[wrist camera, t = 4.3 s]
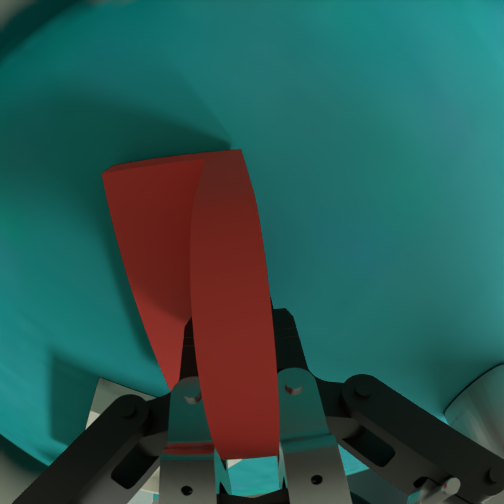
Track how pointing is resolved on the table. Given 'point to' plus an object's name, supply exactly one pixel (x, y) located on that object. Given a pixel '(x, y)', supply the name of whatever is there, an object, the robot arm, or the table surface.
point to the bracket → (203, 286)
